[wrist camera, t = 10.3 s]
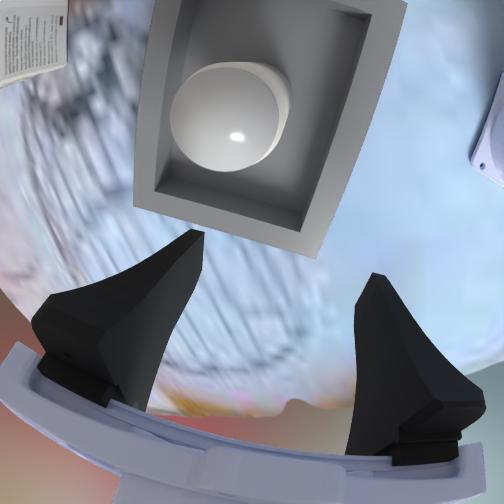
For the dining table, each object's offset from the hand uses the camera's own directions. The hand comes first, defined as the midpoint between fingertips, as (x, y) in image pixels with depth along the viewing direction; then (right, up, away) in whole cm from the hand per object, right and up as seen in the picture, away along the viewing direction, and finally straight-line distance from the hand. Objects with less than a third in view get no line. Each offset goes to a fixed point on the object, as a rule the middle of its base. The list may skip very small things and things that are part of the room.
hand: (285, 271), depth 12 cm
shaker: (-1, +10, +4) cm, 11 cm away
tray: (-1, +10, +5) cm, 11 cm away
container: (-19, +19, +3) cm, 27 cm away
